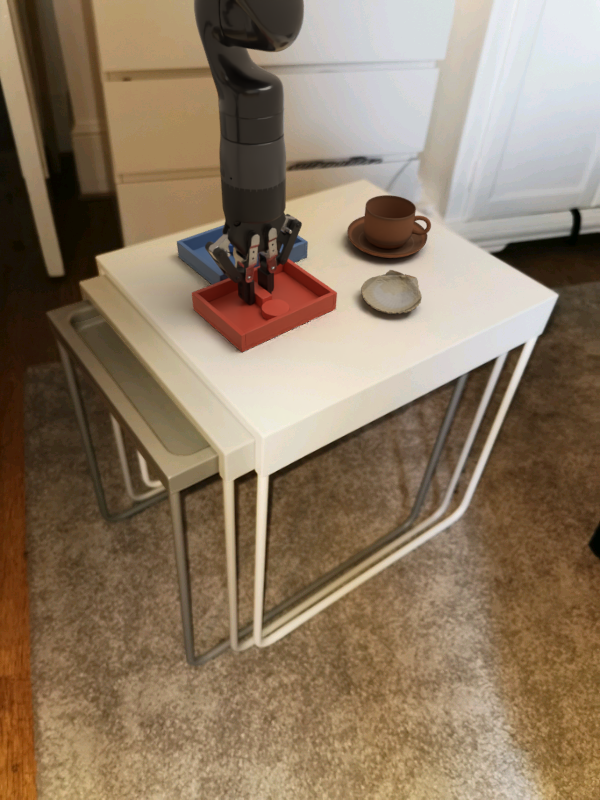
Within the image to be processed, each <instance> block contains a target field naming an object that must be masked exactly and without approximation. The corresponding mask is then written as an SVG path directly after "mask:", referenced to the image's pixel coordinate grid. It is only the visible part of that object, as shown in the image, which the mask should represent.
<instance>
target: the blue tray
mask: <svg viewBox="0 0 600 800" xmlns="http://www.w3.org/2000/svg"><path fill="white" fill-rule="evenodd" d="M223 227H224V224H222V225H220V226H216V227H214V228H211V229H208V230H205V231H203V232H199V233H196V234H194V235H190V236H187V237H185V238H182V239H179V240H176V248H177V257H178V258H179V259H180V260H182V261H183V262H184V263H185V264H186V265H188V266H189V267H190V268H191V269H192V270H194V271H195V272H196V273H197V274H199V276H201V277H202V278H203V279H204V280H205V281H207V282H208V283H210V285H212V284H215V283H218V282H220V281H223V280H225V279H228V277H227V276H226V275H225V274H223V272H222V271H221V269H220V268H219V267H218V265H217V264H216V263H215V261H214V260H213V259H212V257H211V256H210V254H209V253H208V252H207V250H206V249H205V245H206V243H207V242H209V241H211V242H213V243H215V242H216V241H217V240H218V239H219V238H220V237H221V236H222V235H223V232H222V231H223ZM308 245H309V241H307V240H306V239H304V238H303V237H301V236H300V235H298V236H297V238H296V241H295V243H294V246H293V248H292V251H291V253H290V255H289V258H288V259H290V260H291V261H292V262H294V263H296V262H299V261H301V260H304V259H306V258H308V248H309V247H308ZM282 249H283V244H282V246H281V249H280V251H279V252H281V251H282ZM230 254H231V255H230V257H229V259H230V260H231V262H232V263H233V265H234V266H235V258H234V256H233V252H230ZM258 266H260V265H259V264H258V257H257V264H256V265H255V266H254V268H256V267H258Z"/></svg>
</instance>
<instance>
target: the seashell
mask: <svg viewBox="0 0 600 800" xmlns="http://www.w3.org/2000/svg"><path fill="white" fill-rule="evenodd" d="M360 292H361V297H362V300H364V302H365V303H367V305H368V306H370V307H371V308H372V309H375V310H376V311H377V312H378V311H379V312H381V313H386V314H387V315H389V314H390V315H391V314H392V315H397V314H398V315H402V314H407V313H408V312H410V313H411V312H412V311H413V310H416V309H417V307H419V306H420V304H421V303H422V297H423V296H422V293H421V290H420V287H419V279H418V278H417V277H416V276H413V275H410V274H406V273H405V274H404V273H402V272H399V271H397V270H394V269H389V270H388V271H387V272H386V273H385V274H381V275H377V276H372V277H370V278H368V279H366V280H365V281H364V282H363V284H362V285H361V288H360Z"/></svg>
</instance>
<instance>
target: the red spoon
mask: <svg viewBox="0 0 600 800" xmlns="http://www.w3.org/2000/svg"><path fill="white" fill-rule="evenodd" d="M254 287H255V303H256V304H257V305H258V306H260V307H261V308H262V316H263V317H264V318H265V319H266V320H270V319H272V318H274V317H276V316H279V315H281V314H283V313H285V312H288V311H290V306H289V304H288V303H287V302H285V301H283V300H278V299H273V300H272V295H271V294H270V293H269V292H268V291H266V290H265V289H264V288H262V287H261V286H260V285H258V284H257V283H256V282H255V281H254Z"/></svg>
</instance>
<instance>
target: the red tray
mask: <svg viewBox="0 0 600 800" xmlns="http://www.w3.org/2000/svg"><path fill="white" fill-rule="evenodd" d="M259 267H260V266H258V267H256V268H254V277H253V280H254V281H255V282H256V283H257V284H258V274H257V268H259ZM273 299H278V300H283V301H285V302H287V303H288V304H289V306H290V311H288V312H285V313H283V314H281V315H279V316H276V317H274V318H272V319H270V320H266V319H265V318H264V317H263V316H262V308H261V307H260V306H258V305H257V304H256V303H254V304H251V305H248V304H247V303H246V302H244V301H243V300H242V299H241V298H240V297H239V296H238V283H235V282H233V281H232V280H231V279H230V278H228V279H225V280H223V281H220V282H218V283H215V284H210V285H207V286H204V287H202V288H200V289H198V290H195V291H193V292H191V301H192V309H193V311H195V312H196V313H197V314H198V315H199V316H200V317H202V318H203V319H204V320H205V321H206V322H207V323H208V324H209V325H211V326H212V327H213V328H214V329H215V330H216V331H217V332H218V333H219V334H221V335H222V336H223V337H224V338H225V339H226V340H227V341H228V342H230V343H231V344H232V345H233V346H234V347H235V348H237V349H238V351H240V352H241V353H243V352H246V351H248V350H250V349H253V348H254V347H257V346H258V345H261V344H263V343H265V342H267V341H269V340H272V339H274V338H276V337H279V336H280V335H283V334H285V333H287V332H289V331H291V330H294V329H295V328H298V327H299V326H302V325H303V324H304V325H305V324H306V323H309V322H310V321H313V320H315V319H317V318H320V317H321V316H323V315H325V314H328V313H330V312H332V311H335V310H337V300H338V292H337V291H335V290H334V289H332V288H331V287H330V286H328V284H326V283H324V282H323V281H321V280H320V279H318V278H317V277H316V276H314V275H313V274H311V273H310V272H308V271H307V270H306V269H304V268H302V267H301V266H300V265H298V264H297V263H296V262H292V261H291V260H290V259H288V260H287V262H286V263H285V264H284V265H282V264H279V265H278V266H277V269H276V271H275V272H274V289H273V291H272V300H273Z"/></svg>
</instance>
